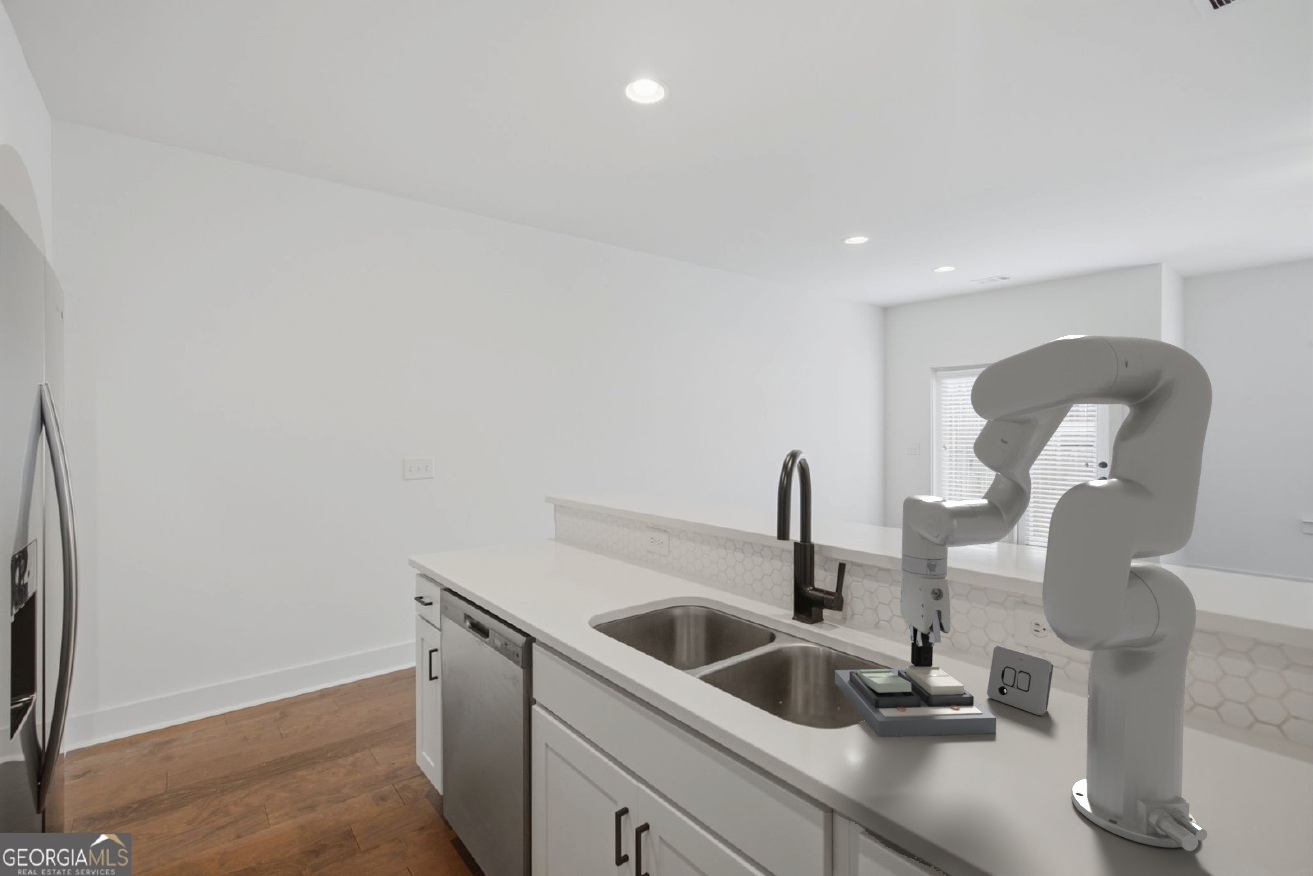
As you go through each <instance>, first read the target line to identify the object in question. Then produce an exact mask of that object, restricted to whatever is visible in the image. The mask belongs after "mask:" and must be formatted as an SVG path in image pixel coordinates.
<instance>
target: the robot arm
mask: <svg viewBox="0 0 1313 876" xmlns="http://www.w3.org/2000/svg"><path fill="white" fill-rule="evenodd" d="M1212 388H1213V387H1212V383H1211V378H1210V376H1209V374H1208V373H1207V371H1206V368H1205V367H1204V366H1203V365H1202V364H1201V362H1200V361H1199V360H1198V359H1197V358H1196V357H1195V356H1193V355H1192V354H1191V353H1189V352H1188V351H1186V350H1184V349H1183V348H1180V347H1179V346H1176V345H1173V344H1171V343H1168V342H1165V341H1162V340H1161V341H1160V340H1157V339H1151V338H1145V337H1144V338H1143V337H1137V336H1136V337H1135V336H1134V337H1133V336H1119V335H1118V336H1109V335H1096V334H1095V335H1094V334H1077V335H1076V334H1075V335H1067V336H1064V337H1060V338H1057V339H1054V340H1051V341H1047V342H1045V343H1043V344H1040V345H1037V346H1034V347H1031V348H1029V349H1027V350H1025V351H1024V350H1023V351H1022V352H1019V353H1014V354H1013V355H1011V356H1008V357H1005V358H1002V359H1000V360H998V361H995V362H993V363H991V364H990V365H989V366H987V367H986V368H984V369H983V370H982V371H981V372H980V374H978V376H977V377H976V379H975V380H974V382H973V384H972V388H971V393H970V402H971V406H972V409H973V410H974V412H975V413H976V415H978V416H979V417H980V418H982V419H983V420H985V421H986V423H985V424H984V426H983V428H982V429H981V430H980V433H979V434H978V436H977V437H976V439H975V441H974V443H973V447H972V449H973V453H974V455H975V457H976V458H977V459H978V460H979V461H980V463H981V464H983V465H984V466H985V467H986V468H988V469H989V470H991V471H993V472H994V473H995V475H994V478H993V481H992V483H991V484H990V485H989V487H988V489H987V491H986V492H985V493H984V495H983V496H982V498H981V499H965V500H955V501H954V500H953V501H947V499H945V498H943V497H941V496H936V495H927V494H922V495H921V494H917V495H909V496H907V497H906V498H905V499H904V501H903V502H902V525H901V526H902V529H901V530H902V531H901V532H902V533H901V534H902V535H901V539H902V540H901V569H900V570H901V572H902V577H901V588H900V607H899V608H900V615H901V617H902V619H903V620H904V621H905V623H906V625H907V626H908V627H909V637H910V641H911V644H910V648H911V649H910V650H911V651H910V663H911V665H914V666H915V667H921V666H932V665H933V657H934V656H933V655H934V650H933V649H934V648H933V647H934V646H935V644H938V643H939V644H941V642H942V640H941V632H942V633H943V634H949V633H950V632H951V598H950V589H949V583H948V578H947V576H948V550H949V549H948V548H956V547H966V546H973V545H974V546H977V545H988V544H990V545H991V544H995V543H997V542H1000V541H1001V540H1003V539H1004V538H1006V537H1007V536H1008V535H1009V534H1010V533H1011V532H1012V530H1013V529H1014V528H1015V527H1016V526H1017V524H1018V522H1019V521H1020V520H1021V518H1022V517H1023V516H1024V514H1025V512H1026V511H1027V509H1028V507H1029V504H1030V501H1031V495H1032V479H1031V475H1030V471H1031V468H1032V467H1033V465H1034V463H1035V462H1036V461H1037V459H1038V458H1039V456H1040V455H1041V453H1042V451H1044V449H1045V447H1046V446H1047V444H1048V443H1049V442H1050V440H1051V439H1052V438H1053V435H1054V434H1055V433H1056V431H1057V430H1058V428H1059V427H1060V425H1061V424H1062V422H1063V421H1064V420H1065V418H1066V417H1067V415H1068V413H1069V412H1070V411H1071V409H1072V407H1073V406H1074V405H1122V406H1126V407H1128V409H1129V412H1128V414H1127V416H1126V417H1125V419H1123V421H1122V423H1121V425H1120V427H1119V428H1118V431H1117V432H1116V435H1115V437H1114V441H1113V445H1112V457H1111V458H1112V459H1111V462H1110V468H1109V475H1107V476H1108V477H1107V478H1106V479H1096V480H1088V481H1085V482H1080V483H1078V484H1075V485H1074V486H1072V487H1070V488H1068V489H1067V490H1066V491H1065V492H1064V493H1063V494H1062V495H1061V496H1060V498H1059V499H1058V501H1057V502H1056V504H1055V506H1054V508H1053V510H1052V513H1051V517H1050V521H1049V528H1048V537H1047V542H1046V543H1047V544H1046V555H1045V563H1044V571H1043V582H1042V591H1041V592H1042V594H1041V595H1042V599H1041V600H1042V608H1043V609H1042V610H1043V613H1044V616H1045V620H1046V622H1047V624H1048V627H1049V628H1050V629H1051V631H1052V632H1053V633H1054V635H1056V637H1057V638H1058V639H1060V640H1061V641H1062V642H1063V643H1064V644H1066V645H1068V646H1070V647H1072V648H1075V649H1078V650H1081V651H1086V652H1087V651H1089V652H1091V653H1090V654H1091V655H1090V659H1089V665H1088V681H1087V682H1088V683H1087V715H1086V716H1087V717H1086V718H1087V719H1086V720H1087V723H1086V724H1087V725H1086V727H1087V729H1086V766H1085V768H1086V770H1085V772H1086V773H1085V774H1086V776H1085V778H1084V779H1081V780H1079V781H1076V782H1075V783H1074V784H1073V785H1072V787H1071V801H1072V804H1073V805H1074V806H1075V808H1076V809H1077V810H1078V811H1079V812H1080V813H1081V814H1082V815H1083V816H1085V818H1087V819H1088V820H1089V821H1091V822H1092V823H1094V824H1095V825H1097V826H1099V827H1100V828H1102V829H1104V830H1106V831H1108V832H1109V833H1112V834H1114V835H1117V836H1119V837H1122V838H1123V839H1126V840H1130V841H1133V842H1136V843H1140V844H1144V845H1148V846H1153V847H1161V848H1171V849H1172V848H1173V849H1174V848H1175V849H1176V848H1182V849H1184V850H1185V851H1187V852H1193V851H1194V850H1196V848H1197V847H1198V845H1199V841H1205V840H1206V839H1207V837H1208V832H1207V830H1206V829H1205V828H1203V827H1202V826H1200V825H1198V822H1197V820H1196V818H1195V817H1194V816H1193V815H1192V814H1191V813H1190V802H1189V801H1187V800H1186V799H1185V798H1184V797H1183V766H1184V765H1183V760H1184V759H1183V758H1184V756H1183V755H1184V721H1185V720H1184V717H1185V716H1184V715H1185V713H1184V712H1185V711H1184V709H1185V699H1186V697H1185V696H1186V695H1185V693H1186V691H1185V690H1186V677H1187V675H1186V674H1187V666H1188V665H1187V663H1188V658H1189V653H1190V648H1191V644H1192V640H1193V637H1194V632H1195V628H1196V622H1197V607H1196V603H1195V599H1194V596H1193V594H1192V592H1191V590H1190V588H1189V587H1188V586H1187V584H1186V583H1185V582H1184V581H1183V580H1182V579H1181V578H1180V577H1179V576H1178V575H1177V574H1175V573H1174V572H1173V571H1170V570H1169V569H1167V568H1164V567H1161V566H1159V565H1155V564H1150V563H1145V562H1144V563H1143V562H1132V560H1135V559H1145V558H1147V559H1148V558H1156V557H1161V556H1167V555H1171V554H1174V553H1176V552H1178V551H1180V550H1182V549H1183V548H1184V547H1185V546H1186V545H1187V544H1188V543H1189V541H1190V539H1191V538H1192V537H1191V536H1192V534H1193V530H1194V525H1195V524H1194V523H1195V517H1196V512H1197V504H1198V503H1197V502H1198V495H1199V489H1200V483H1201V482H1200V481H1201V473H1202V465H1203V454H1204V448H1205V447H1204V445H1205V439H1206V436H1207V430H1208V426H1209V422H1210V417H1211V411H1212V407H1213V406H1212V405H1213V389H1212Z"/></svg>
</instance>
